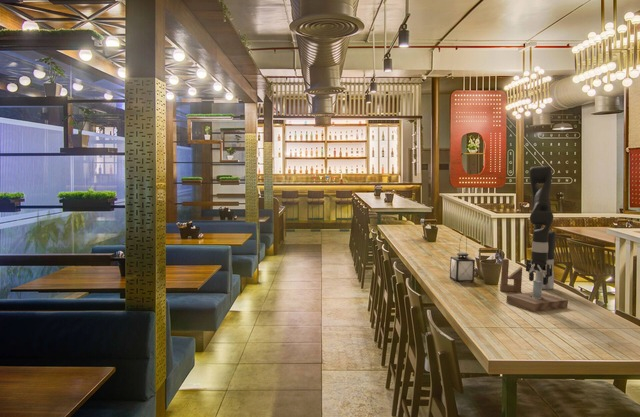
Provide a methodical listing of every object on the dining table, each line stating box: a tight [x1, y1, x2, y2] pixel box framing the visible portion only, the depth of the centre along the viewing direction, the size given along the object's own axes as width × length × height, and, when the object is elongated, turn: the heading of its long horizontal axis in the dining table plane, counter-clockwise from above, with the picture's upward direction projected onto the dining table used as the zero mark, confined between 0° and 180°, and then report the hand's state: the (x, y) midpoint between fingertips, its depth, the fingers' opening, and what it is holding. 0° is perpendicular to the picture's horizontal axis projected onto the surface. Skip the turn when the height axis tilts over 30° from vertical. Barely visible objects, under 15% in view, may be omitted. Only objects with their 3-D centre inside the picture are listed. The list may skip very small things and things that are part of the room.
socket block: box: [506, 291, 569, 313], centre depth 251 cm, size 22×18×4 cm
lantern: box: [449, 234, 476, 283], centre depth 306 cm, size 11×11×28 cm
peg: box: [532, 280, 543, 299], centre depth 251 cm, size 4×4×12 cm
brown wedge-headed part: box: [499, 258, 523, 293], centre depth 279 cm, size 4×11×18 cm, turn 79°
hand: (538, 282), depth 250 cm, fingers open, 8 cm apart
